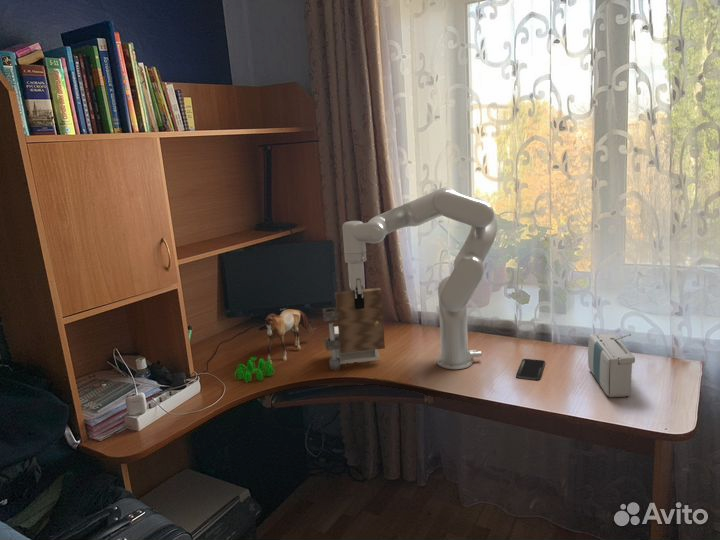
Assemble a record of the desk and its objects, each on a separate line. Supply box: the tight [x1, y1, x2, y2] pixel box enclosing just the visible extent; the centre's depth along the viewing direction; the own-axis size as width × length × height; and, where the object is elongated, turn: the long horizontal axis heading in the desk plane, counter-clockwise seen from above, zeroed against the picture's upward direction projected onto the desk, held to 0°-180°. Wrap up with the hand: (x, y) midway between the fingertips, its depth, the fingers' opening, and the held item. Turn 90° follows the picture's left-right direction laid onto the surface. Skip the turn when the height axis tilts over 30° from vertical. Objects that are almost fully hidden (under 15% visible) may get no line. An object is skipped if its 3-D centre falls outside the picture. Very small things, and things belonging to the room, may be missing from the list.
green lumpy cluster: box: [234, 356, 276, 384], centre depth 208 cm, size 15×15×7 cm
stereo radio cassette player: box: [587, 333, 636, 398], centre depth 179 cm, size 21×8×20 cm, turn 174°
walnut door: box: [322, 287, 386, 353], centre depth 206 cm, size 21×5×22 cm, turn 96°
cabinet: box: [328, 322, 380, 371], centre depth 212 cm, size 18×13×17 cm
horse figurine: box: [264, 308, 317, 365], centre depth 223 cm, size 31×8×21 cm, turn 153°
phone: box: [515, 358, 546, 381], centre depth 195 cm, size 8×1×15 cm
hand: (359, 306), depth 205 cm, fingers closed on walnut door, 3 cm apart
